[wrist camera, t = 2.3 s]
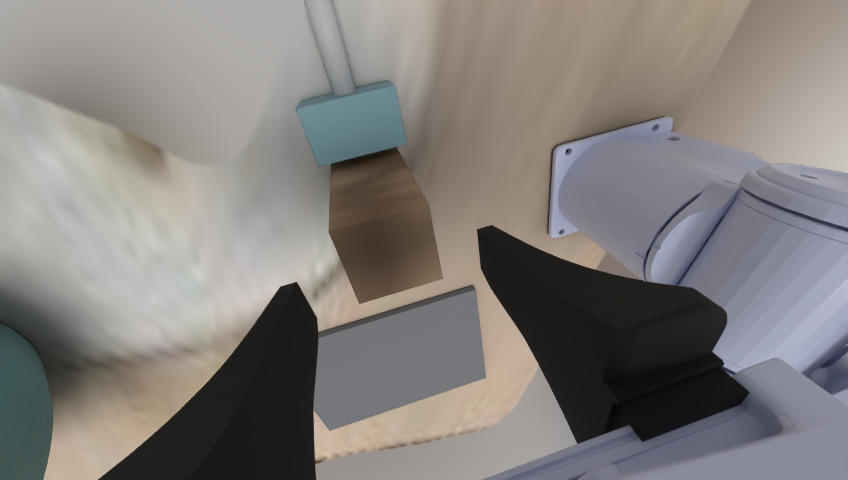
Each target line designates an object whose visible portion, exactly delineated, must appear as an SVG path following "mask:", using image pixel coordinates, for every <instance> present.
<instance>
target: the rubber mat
mask: <svg viewBox="0 0 848 480" xmlns="http://www.w3.org/2000/svg"><path fill="white" fill-rule="evenodd" d="M318 342H319V343H318V356H317V368H316V380H315V391H314V408H313V409H314V411H315V412H316V413H317V415H318V416H319V417H320V419H321V420H322V421H323V422H324V424H325V425H326V426H327V428H328V429H329V430H330V431H331V430H334V429H336V428H339V427H342V426H345V425H348V424H351V423H354V422H357V421H360V420H363V419H366V418H369V417H372V416H375V415H378V414H381V413H384V412H387V411H390V410H393V409H395V408H398V407H401V406H404V405H407V404H410V403H413V402H416V401H419V400H422V399H425V398H428V397H431V396H434V395H437V394H440V393H443V392H446V391H449V390H451V389H454V388H457V387H460V386H463V385H466V384H469V383H472V382H475V381H478V380H481V379H484V378H486V373H485V365H484V356H483V348H482V339H481V331H480V322H479V314H478V305H477V297H476V289H475V287H474V286H473V285H472V286H469V287H466V288H462V289H459V290H456V291H453V292H449V293H446V294H443V295H440V296H436V297H433V298H430V299H427V300H423V301H420V302H417V303H414V304H410V305H407V306H404V307H401V308H397V309H394V310H391V311H388V312H384V313H381V314H378V315H375V316H371V317H368V318H365V319H362V320H358V321H355V322H352V323H349V324H345V325H342V326H339V327H336V328H332V329H329V330H326V331H323V332H320V333H318Z"/></svg>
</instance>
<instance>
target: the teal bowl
mask: <svg viewBox="0 0 848 480" xmlns="http://www.w3.org/2000/svg"><path fill="white" fill-rule="evenodd" d="M52 430H53V408H52V399H51V394H50V389H49V384H48V380H47V376H46V373H45V370H44V367H43V364H42V361H41V359H40V357H39V355H38V353H37V352H36V350H35V349H34V347H33V346H32V345H31V344H30V343H29V342H28V341H27V340H26V339H25V338H24V337H22V336H21V335H20V334H19V333H17V332H16V331H14V330H12V329H10V328H9V327H7V326H5V325H3V324H1V323H0V480H43V478H44V474H45V470H46V467H47V462H48V457H49V452H50V447H51V439H52Z"/></svg>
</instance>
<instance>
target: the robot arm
mask: <svg viewBox="0 0 848 480" xmlns="http://www.w3.org/2000/svg"><path fill="white" fill-rule="evenodd" d="M672 125H673V118H671V117H662V118H659V119H655V120H651V121H647V122H644V123H640V124H636V125H633V126H629V127H625V128H622V129H618V130H614V131H611V132H607V133H603V134H599V135H596V136H592V137H588V138H585V139H581V140H577V141H574V142H570V143H566V144H563V145H559V146H557V147H556V148H555V150H554V152H553V164H552V181H551V198H550V215H549V232H548V234H549V236H550V237H551V238H558V237H561V236H564V235H568V234H571V233H574V232H578V231H581V232H582V233H584V234H585V235H586V236H587V237H589V238H590V239H591V240H593V241H594V242H595V243H596V244H598V245H599V246H600V247H601V248H603V249H604V250H605V251H607V252H608V253H609V254H611V255H612V256H613V257H614V258H616V259H617V260H618V261H619V262H621V263H622V264H623V265H625V266H626V267H627V268H628V269H630V270H631V271H632V272H634V273H635V274H636V275H637V276H639V277H640V278H641V279H643V280H644V281H642V280H637V279H632V278H627V277H622V276H618V275H613V274H609V273H606V272H602V271H598V270H594V269H591V268H587V267H584V266H581V265H578V264H575V263H572V262H569V261H566V260H564V259H561V258H558V257H556V256H553V255H551V254H549V253H546V252H544V251H542V250H539V249H537V248H535V247H533V246H531V245H529V244H527V243H525V242H523V241H521V240H519V239H517V238H515V237H513V236H511V235H509V234H507V233H506V232H504V231H502V230H500V229H498V228H496V227H494V226H492V225H490V226H487V227H484V228H480V229H477V234H478V244H479V254H480V264H481V270H482V272H483V274H484V276H485V278H486V280H487V282H488V284H489V286H490V288H491V289H492V291H493V292H494V294H495V295H496V297H497V298H498V300H499V301H500V303H501V304H502V306H503V307H504V309H505V310H506V312H507V313H508V314H509V316H510V317H511V319H512V320H513V322H514V323H515V325H516V326H517V328H518V329H519V330H520V332H521V334H522V335H523V337H524V338H525V340H526V342H527V344H528V346H529V347H530V349H531V351H532V353H533V355H534V357H535V358H536V360H537V362H538V364H539V366H540V368H541V370H542V372H543V374H544V376H545V378H546V380H547V381H548V383H549V385H550V387H551V389H552V391H553V393H554V395H555V397H556V400H557V402H558V404H559V406H560V408H561V410H562V412H563V414H564V416H565V418H566V420H567V422H568V424H569V427H570V429H571V431H572V433H573V435H574V437H575V440H576V442H577V445H574V446H572V447H568V448H566V449H563V450H560V451H558V452H555V453H552V454H550V455H547V456H545V457H542V458H539V459H537V460H534V461H531V462H528V463H526V464H523V465H520V466H518V467H515V468H512V469H509V470H507V471H504V472H501V473H499V474H496V475H494V476H491V477H488V478H485V479H483V480H848V344H847V343H848V173H843V172H838V171H833V170H828V169H822V168H816V167H810V166H803V165H796V164H783V163H775V164H770V165H769V164H768V163H767V162H766V161H764V160H763V159H762V158H760V157H759V156H757V155H755V154H752V153H750V152H747V151H743V150H739V149H736V148H732V147H728V146H725V145H721V144H717V143H714V142H710V141H706V140H702V139H699V138H695V137H691V136H687V135H684V134H680V133H677V132H673V131H671V129H672ZM653 127H654V128H653ZM568 148H569V150H568V152H567V153H565V152H566V150H567V149H568ZM560 230H561V231H560ZM559 231H560V232H559ZM318 343H319V342H318V324H317V317H316V315H315V314H314V312H313V310H312V308H311V306H310V305H309V303H308V301H307V299H306V298H305V296H304V294H303V292H302V290H301V289H300V287H299V285H298V283H297V282H295V283H291V284H288V285H285V286H281V287H280V288H279V289H278V291H277V292H276V294H275V295H274V297H273V298H272V299H271V301H270V302H269V304H268V305H267V307H266V308H265V310H264V311H263V313H262V314H261V315H260V317H259V318H258V320H257V321H256V323H255V324H254V325H253V327H252V328H251V330H250V331H249V332H248V334H247V335H246V336H245V338H244V339H243V340H242V342H241V343H240V344H239V345H238V347H237V348H236V349H235V351H234V352H233V353H232V355H231V356H230V357H229V358H228V359H227V361H226V362H225V363H224V364H223V365H222V366H221V368H220V369H219V370H218V371H217V372H216V373H215V374H214V375H213V377H212V378H211V379H210V380H209V381H208V382H207V383H206V384H205V385H204V386H203V387H202V388H201V389H200V390H199V391H198V392H197V393H196V394H195V395H194V396H193V397H192V398H191V399H190V400H189V401H188V402H187V403H186V404H185V405H184V406H183V407H182V408H181V409H180V410H179V411H178V412H177V413H176V414H175V415H174V416H173V417H172V418H171V419H170V420H169V421H168V422H166V423H165V424H164V425H163V426H162V427H161V428H160V429H159V430H158V431H156V432H155V433H154V434H153V435H152V436H151V437H150V438H148V439H147V440H146V441H145V442H144V443H143V444H142V445H140V446H139V447H138V448H137V449H136V450H134V451H133V452H132V453H131V454H130V455H128V456H127V457H126V458H125V459H123V460H122V461H121V462H120V463H118V464H117V465H116V466H115V467H113V468H112V469H111V470H110V471H108V472H107V473H106V474H105V475H103V476H102V477H101V478H100V479H98V480H316V473H315V452H314V418H313V408H314V391H315V380H316V368H317V356H318ZM846 344H847V345H846Z"/></svg>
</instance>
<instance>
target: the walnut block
mask: <svg viewBox="0 0 848 480" xmlns="http://www.w3.org/2000/svg"><path fill="white" fill-rule="evenodd" d="M329 234H330V236H331V239H332V241H333V243H334V246H335V248H336V250H337V253H338V255H339V257H340V260H341V262H342V264H343V267H344V269H345V271H346V274H347V276H348V278H349V281H350V283H351V285H352V288H353V290H354V292H355V295H356V297H357V299H358V302H359V304H361V303H364V302H367V301H371V300H374V299H377V298H381V297H384V296H387V295H391V294H394V293H397V292H401V291H404V290H407V289H410V288H414V287H417V286H420V285H424V284H427V283H430V282H434V281H437V280H440V279H443V276H442V271H441V266H440V261H439V256H438V251H437V245H436V240H435V235H434V230H433V225H432V220H431V215H430V209H429V204H428V202H427V201H426V199H425V197H424V195H423V194H422V192H421V190H420V188H419V187H418V185H417V183H416V181H415V179H414V178H413V176H412V174H411V172H410V171H409V169H408V167H407V165H406V164H405V162H404V160H403V158H402V156H401V155H400V153H399V151H398V149H397V148H396V147H393V148H390V149H386V150H382V151H378V152H374V153H370V154H366V155H362V156H359V157H355V158H351V159H347V160H343V161H339V162H335V163H331V184H330V211H329Z"/></svg>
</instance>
